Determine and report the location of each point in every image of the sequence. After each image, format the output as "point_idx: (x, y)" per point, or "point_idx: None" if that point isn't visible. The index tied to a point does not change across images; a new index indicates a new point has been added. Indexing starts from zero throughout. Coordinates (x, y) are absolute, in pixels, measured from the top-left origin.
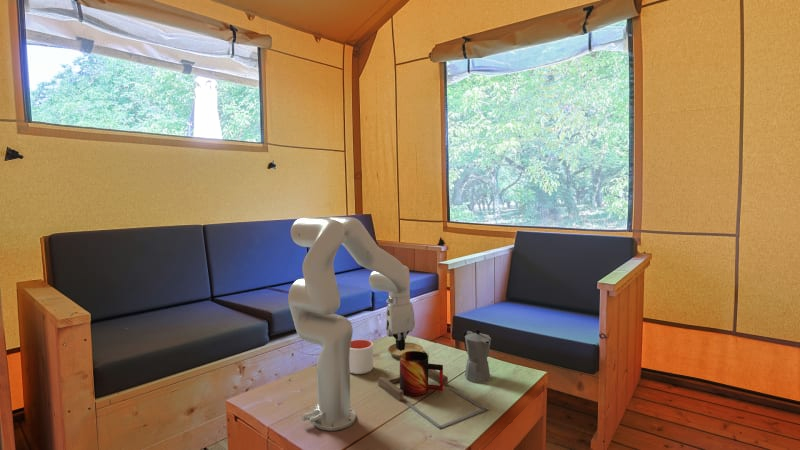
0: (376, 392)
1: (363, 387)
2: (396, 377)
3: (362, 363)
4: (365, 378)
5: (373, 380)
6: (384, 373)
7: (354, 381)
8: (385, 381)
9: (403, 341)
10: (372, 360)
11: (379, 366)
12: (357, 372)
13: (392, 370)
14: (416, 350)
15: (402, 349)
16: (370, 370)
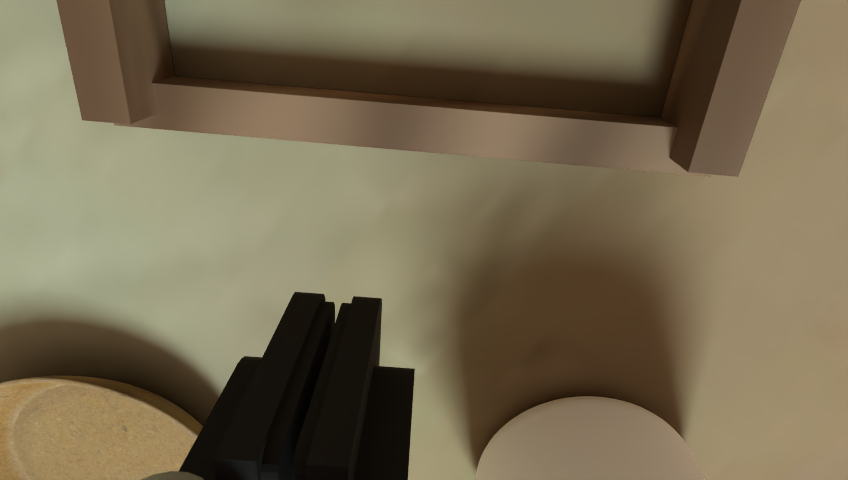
0: (821, 52)
1: (808, 218)
2: (504, 129)
3: (668, 473)
4: (658, 336)
5: (639, 270)
6: (473, 314)
7: (762, 347)
8: (771, 41)
9: (269, 420)
10: (531, 473)
11: (421, 424)
12: (671, 427)
13: (381, 316)
14: (11, 457)
15: (343, 305)
16: (550, 402)
